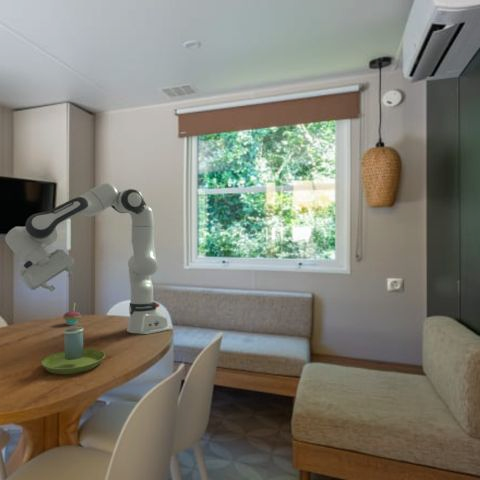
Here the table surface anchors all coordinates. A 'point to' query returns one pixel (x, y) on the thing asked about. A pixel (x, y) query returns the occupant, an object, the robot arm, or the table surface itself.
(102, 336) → the table surface
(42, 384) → the table surface
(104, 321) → the table surface
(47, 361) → the saucer
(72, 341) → the beaker
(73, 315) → the cupcake
